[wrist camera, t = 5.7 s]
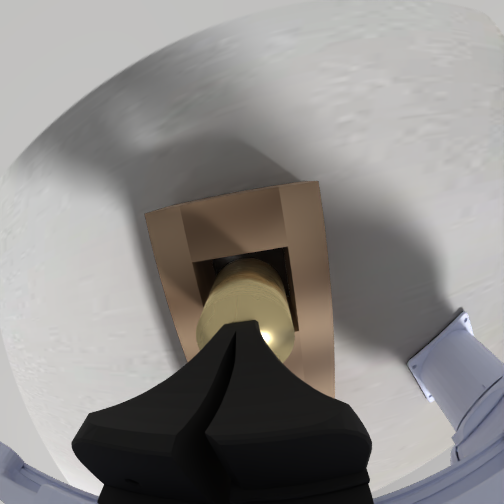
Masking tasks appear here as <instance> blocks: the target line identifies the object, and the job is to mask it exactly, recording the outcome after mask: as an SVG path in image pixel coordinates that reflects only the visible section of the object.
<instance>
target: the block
mask: <svg viewBox="0 0 504 504" xmlns="http://www.w3.org/2000/svg"><path fill="white" fill-rule="evenodd" d="M145 218H146V223H147V227H148V232H149V236H150V240H151V244H152V248H153V252H154V256H155V260H156V264H157V268H158V271H159V275H160V279H161V282H162V286H163V289H164V293H165V296H166V299H167V303H168V306H169V309H170V312H171V315H172V319H173V322H174V325H175V328H176V331H177V334H178V337H179V339H180V342H181V345H182V348H183V351H184V354H185V356H186V359H187V362H189V361H190V360H191V359H192V358H193V357H194V356H195V355H196V354H197V353H198V352H199V351H200V350H199V347H198V345H197V340H196V328H197V324H198V321H199V319H200V316H201V314H202V311H203V309H204V306H205V304H206V301H207V299H208V296H209V294H210V292H211V289H212V287H213V284H214V282H215V279H216V275H215V270H214V266H213V261H212V259H215V258H221V257H227V256H233V255H239V254H245V253H251V252H257V251H263V250H269V249H275V248H281V247H283V253H284V260H285V266H286V273H287V280H288V287H289V294H290V296H289V297H286V298H287V302H288V306H289V310H290V315H291V319H292V323H293V327H294V332H295V340H294V346H293V349H292V351H291V353H290V355H289V356H288V358H287V359H286V360H285V361H284V362H283V364H284V365H285V366H286V367H287V368H288V369H289V370H290V371H291V372H292V373H294V374H295V375H296V376H297V377H298V378H300V379H301V380H303V381H304V382H306V383H307V384H308V385H310V386H311V387H313V388H314V389H316V390H318V391H320V392H321V393H323V394H325V395H327V396H329V397H332V398H334V399H335V364H334V331H333V312H332V297H331V283H330V272H329V261H328V251H327V242H326V233H325V225H324V217H323V210H322V202H321V196H320V189H319V182H318V181H302V182H295V183H288V184H281V185H275V186H269V187H263V188H257V189H251V190H246V191H240V192H235V193H229V194H224V195H219V196H214V197H209V198H204V199H199V200H194V201H190V202H185V203H180V204H176V205H172V206H168V207H165V208H162V209H158V210H155V211H152V212H149V213H145Z"/></svg>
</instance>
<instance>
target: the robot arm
mask: <svg viewBox="0 0 504 504" xmlns="http://www.w3.org/2000/svg"><path fill="white" fill-rule="evenodd" d="M407 365H408V367H409V368H410V370H411V372H412V374H413V375H414V377H415V379H416V380H417V382H418V384H419V385H420V387H421V389H422V391H423V392H424V394H425V396H426V398H427V400H428V401H429V402H432V401H434V400H435V401H436V402H437V404H438V405H439V407H440V408H441V410H442V411H443V413H444V414H445V416H446V417H447V419H448V420H449V422H450V423H451V425H452V426H453V428H454V430H455V431H456V433H455V434H454V435H453V436H452V440H453V441H454V443H455V445H454V447H453V448H452V450H451V460H450V461H451V466H449V467H447V468H446V469H444V470H442V471H440V472H438V473H436V474H434V475H432V476H430V477H428V478H425V479H424V480H421V481H419V482H417V483H414V484H412V485H410V486H407V487H405V488H402V489H400V490H397V491H394V492H392V493H389V494H387V495H383V496H380V497H377V498H375V499H373V498H372V495H371V491H370V488H369V485H368V483H369V482H370V478H369V475H368V472H367V469H366V467H367V464H368V461H369V457H370V454H371V450H372V441H371V439H370V436H369V434H368V432H367V430H366V428H365V427H364V425H363V423H362V422H361V420H360V419H359V417H358V416H357V414H356V413H355V412H354V411H353V409H352V408H351V407H350V405H348V404H347V403H344V402H342V401H339V400H337V399H334V398H332V397H329V396H327V395H325V394H323V393H321V392H320V391H318V390H316V389H314V388H313V387H311V386H310V385H308V384H307V383H306V382H304V381H303V380H301V379H300V378H298V377H297V376H296V375H295V374H294V373H292V372H291V371H290V370H289V369H288V368H287V367H286V366H285V365H284V364H283V363H282V362H281V361H280V360H279V359H278V358H277V356H276V355H275V354H274V353H273V351H272V350H271V349H270V347H269V346H268V344H267V343H266V341H265V339H264V338H263V336H262V334H261V332H260V327H259V322H258V321H256V320H250V321H243V322H236V323H229V324H224V325H223V326H222V327H221V328H220V329H219V330H218V332H217V333H216V334H215V335H214V336H213V337H212V339H211V340H210V341H209V342H208V343H207V344H206V345H205V346H204V347H203V348H202V349H201V350H200V351H199V352H198V353H197V354H196V355H195V356H194V357H193V358H192V359H191V360H190V361H189V362H188V363H187V364H186V365H185V366H183V367H182V368H181V369H180V370H179V371H177V372H176V373H175V374H173V375H172V376H171V377H169V378H168V379H166V380H165V381H163V382H162V383H160V384H158V385H157V386H155V387H153V388H152V389H150V390H148V391H147V392H145V393H143V394H141V395H139V396H137V397H135V398H132V399H130V400H128V401H125V402H123V403H120V404H118V405H115V406H112V407H109V408H106V409H103V410H99V411H96V412H92V413H89V414H88V416H87V418H86V419H85V421H84V423H83V424H82V426H81V428H80V429H79V431H78V432H77V434H76V436H75V437H74V439H73V441H72V449H73V451H74V453H75V455H76V457H77V458H78V459H79V460H80V462H81V463H82V464H83V465H84V466H85V467H86V468H87V469H88V470H89V471H90V472H91V473H92V474H93V475H94V476H96V477H97V478H98V479H99V480H100V481H101V482H102V483H103V484H104V486H103V489H102V491H101V493H100V496H96V495H93V494H91V493H88V492H85V491H83V490H80V489H77V488H75V487H73V486H70V485H68V484H65V483H63V482H61V481H59V480H57V479H55V478H53V477H50V476H48V475H46V474H44V473H42V472H41V471H39V470H36V469H35V468H33V467H31V466H29V465H28V464H26V463H24V461H23V460H22V459H21V458H20V457H19V455H17V453H16V452H14V451H13V450H12V449H11V448H10V447H8V446H6V445H5V444H3V443H2V442H0V500H1V501H2V502H3V503H5V504H504V363H503V362H501V361H500V360H499V359H498V358H497V357H496V356H495V355H494V354H493V353H492V352H491V351H490V350H488V349H487V348H486V347H485V346H484V345H483V344H482V343H481V342H479V341H478V340H477V339H476V338H475V337H474V335H473V331H472V327H471V324H470V320H469V317H468V313H467V312H465V311H463V312H462V313H461V314H460V315H459V316H458V317H457V318H456V319H455V320H454V321H453V322H452V323H451V324H450V325H449V326H448V327H447V328H446V329H445V330H444V331H442V332H441V333H440V334H439V335H438V336H437V337H436V338H435V339H434V340H433V341H432V342H430V343H429V344H428V345H427V346H426V347H425V348H423V349H422V350H421V351H420V352H419V353H418V354H416V355H415V356H414V357H413V358H411V359H410V360H409V361H408V364H407Z"/></svg>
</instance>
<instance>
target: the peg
mask: <svg viewBox="0 0 504 504" xmlns="http://www.w3.org/2000/svg"><path fill="white" fill-rule="evenodd" d="M250 320H256V321H258V322H259V327H260V332H261V334H262V336H263V338H264V339H265V341H266V343H267V344H268V346H269V347H270V349H271V350H272V351H273V353H274V354H275V355H276V356H277V358H278V359H279V360H280V361H281V362H282V363H283V362H284V361H285V360H286V359H287V358H288V356H289V355H290V353H291V351H292V349H293V346H294V340H295V332H294V327H293V323H292V319H291V315H290V310H289V306H288V302H287V298H286V294H285V290H284V286H283V282H282V279H281V277H280V275H279V274H278V272H277V271H276V270H275V269H274V268H273V267H272V266H271V265H269V264H268V263H266V262H264V261H261V260H258V259H253V258H243V259H238V260H235V261H233V262H231V263H229V264H227V265H226V266H225V267H224V268H223V269H222V270H221V271H220V272H219V273H218V275H217V277H216V279H215V282H214V284H213V287H212V289H211V292H210V294H209V296H208V299H207V301H206V304H205V306H204V309H203V311H202V314H201V316H200V319H199V321H198V324H197V328H196V340H197V345H198V347H199V350H201V349H202V348H203V347H204V346H205V345H206V344H207V343H208V342H209V341H210V340H211V339H212V337H213V336H214V335H215V334H216V333H217V332H218V330H219V329H220V328H221V327H222V326H223V325H224V324H229V323H236V322H243V321H250Z"/></svg>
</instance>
